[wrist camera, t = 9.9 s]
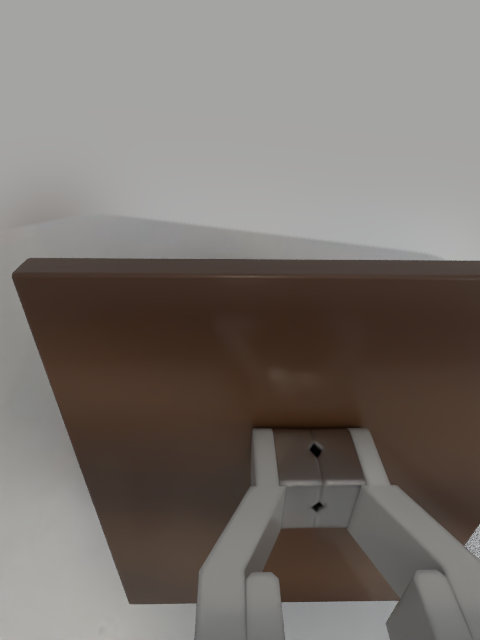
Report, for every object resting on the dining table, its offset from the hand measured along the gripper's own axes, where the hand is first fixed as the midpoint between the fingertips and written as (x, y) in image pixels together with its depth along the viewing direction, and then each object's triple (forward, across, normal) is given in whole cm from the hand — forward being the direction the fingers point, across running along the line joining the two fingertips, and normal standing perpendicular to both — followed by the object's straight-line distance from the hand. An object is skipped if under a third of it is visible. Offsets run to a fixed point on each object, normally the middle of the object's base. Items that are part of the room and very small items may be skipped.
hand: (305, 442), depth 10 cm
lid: (+1, 0, +3) cm, 3 cm away
